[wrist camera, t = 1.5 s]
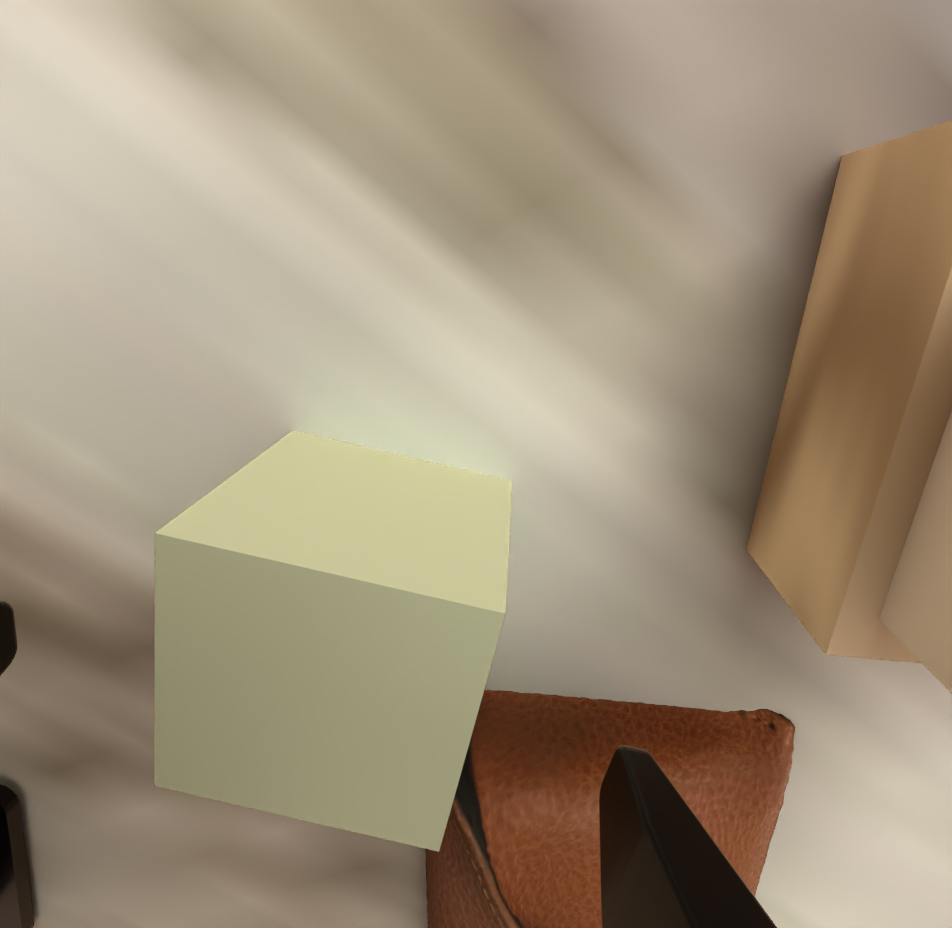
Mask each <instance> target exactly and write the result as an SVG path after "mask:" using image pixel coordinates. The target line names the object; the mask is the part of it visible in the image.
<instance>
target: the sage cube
mask: <svg viewBox="0 0 952 928" xmlns="http://www.w3.org/2000/svg"><path fill="white" fill-rule="evenodd" d="M511 499H512V481H511V480H506V479H502V478H498V477H493V476H489V475H485V474H480V473H476V472H472V471H467V470H463V469H459V468H454V467H450V466H446V465H441V464H437V463H433V462H428V461H424V460H420V459H415V458H411V457H406V456H402V455H398V454H393V453H389V452H385V451H380V450H376V449H372V448H367V447H363V446H359V445H354V444H350V443H346V442H341V441H337V440H333V439H328V438H324V437H320V436H315V435H311V434H307V433H302V432H298V431H293V430H292V431H291V432H290V433H288V434H287V435H286V436H284V437H283V438H282V439H280V440H279V441H278V442H276V443H275V444H274V445H272V446H271V447H270V448H268V449H267V450H266V451H264V452H263V453H262V454H260V455H259V456H258V457H256V458H255V459H253V460H252V461H251V462H249V463H248V464H247V465H245V466H244V467H243V468H241V469H240V470H239V471H237V472H236V473H235V474H233V475H232V476H231V477H229V478H228V479H227V480H225V481H224V482H223V483H221V484H220V485H219V486H217V487H216V488H215V489H213V490H212V491H211V492H209V493H208V494H207V495H205V496H204V497H202V498H201V499H200V500H198V501H197V502H196V503H194V504H193V505H192V506H190V507H189V508H188V509H186V510H185V511H184V512H182V513H181V514H180V515H178V516H177V517H176V518H174V519H173V520H172V521H170V522H169V523H168V524H166V525H165V526H164V527H162V528H161V529H160V530H158V531H157V532H156V533H155V672H154V786H156V787H160V788H165V789H169V790H173V791H178V792H182V793H186V794H191V795H195V796H199V797H204V798H208V799H212V800H217V801H221V802H225V803H230V804H234V805H238V806H243V807H247V808H251V809H256V810H260V811H264V812H269V813H273V814H277V815H282V816H286V817H290V818H295V819H299V820H303V821H308V822H312V823H316V824H321V825H325V826H329V827H334V828H338V829H342V830H347V831H351V832H355V833H360V834H364V835H368V836H373V837H377V838H381V839H386V840H390V841H394V842H399V843H403V844H408V845H412V846H416V847H421V848H425V849H429V850H434V851H438V852H439V850H440V846H441V843H442V839H443V836H444V832H445V829H446V825H447V821H448V818H449V814H450V811H451V807H452V804H453V800H454V796H455V793H456V789H457V786H458V782H459V779H460V775H461V771H462V768H463V764H464V761H465V757H466V753H467V750H468V746H469V743H470V739H471V736H472V732H473V728H474V725H475V721H476V718H477V714H478V711H479V707H480V703H481V700H482V696H483V693H484V689H485V686H486V682H487V678H488V675H489V671H490V668H491V664H492V661H493V657H494V653H495V650H496V646H497V643H498V639H499V635H500V632H501V628H502V625H503V621H504V618H505V614H506V596H507V577H508V557H509V538H510V519H511Z"/></svg>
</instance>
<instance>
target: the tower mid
mask: <svg viewBox="0 0 952 928" xmlns="http://www.w3.org/2000/svg"><path fill="white" fill-rule="evenodd" d="M879 620H880V621H881V622H882V623H883V624H884V625H885V626H886V627H887V628H888V629H889V630H890V631H891V632H892V633H893V634H894V635H895V636H896V637H897V638H898V639H899V640H900V641H901V642H902V643H903V644H904V645H905V646H906V647H907V648H908V649H909V650H910V651H911V652H912V653H913V654H914V656H915V657H916V658H917V659H918V660H919V661H920V662H921V663H922V664H923V665H924V666H925V667H926V668H927V669H928V670H929V671H930V672H931V673H932V674H933V675H934V676H935V677H936V678H937V679H938V680H939V681H940V682H941V683H942V684H943V685H944V686H945V687H946V688H947V689H948V690H949V691H950V692H951V693H952V410H951V413H950V416H949V419H948V422H947V425H946V428H945V431H944V433H943V436H942V439H941V442H940V445H939V448H938V451H937V453H936V456H935V459H934V462H933V465H932V468H931V471H930V473H929V476H928V479H927V482H926V485H925V488H924V491H923V493H922V496H921V499H920V502H919V505H918V508H917V511H916V513H915V516H914V519H913V522H912V525H911V528H910V531H909V533H908V536H907V539H906V542H905V545H904V548H903V551H902V553H901V556H900V559H899V562H898V565H897V568H896V571H895V573H894V576H893V579H892V582H891V585H890V588H889V591H888V593H887V596H886V599H885V602H884V605H883V608H882V611H881V614H880V616H879Z"/></svg>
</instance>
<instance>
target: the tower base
mask: <svg viewBox="0 0 952 928" xmlns="http://www.w3.org/2000/svg"><path fill="white" fill-rule="evenodd" d="M951 410H952V121H949V122H946V123H943V124H940V125H937V126H933V127H930V128H927V129H924V130H921V131H918V132H915V133H912V134H909V135H905V136H902V137H899V138H896V139H893V140H890V141H887V142H884V143H881V144H877V145H874V146H871V147H868V148H865V149H862V150H859V151H856V152H853V153H850V154H846V155H843V156H842V159H841V163H840V167H839V171H838V175H837V179H836V183H835V187H834V191H833V196H832V200H831V204H830V208H829V212H828V216H827V220H826V224H825V229H824V233H823V237H822V241H821V245H820V249H819V253H818V257H817V261H816V266H815V270H814V274H813V278H812V282H811V286H810V290H809V294H808V298H807V303H806V307H805V311H804V315H803V319H802V323H801V327H800V331H799V335H798V340H797V344H796V348H795V352H794V356H793V360H792V364H791V368H790V373H789V377H788V381H787V385H786V389H785V393H784V397H783V401H782V405H781V410H780V414H779V418H778V422H777V426H776V430H775V434H774V438H773V442H772V447H771V451H770V455H769V459H768V463H767V467H766V471H765V475H764V480H763V484H762V488H761V492H760V496H759V500H758V504H757V508H756V512H755V517H754V521H753V525H752V529H751V533H750V537H749V541H748V545H747V551H748V552H749V553H750V555H751V556H752V557H753V559H754V560H755V561H756V563H757V564H758V565H759V567H760V568H761V569H762V571H763V572H764V573H765V575H766V576H767V577H768V579H769V580H770V581H771V583H772V584H773V585H774V586H775V588H776V589H777V590H778V592H779V593H780V594H781V596H782V597H783V598H784V600H785V601H786V602H787V604H788V605H789V606H790V608H791V609H792V610H793V612H794V613H795V614H796V616H797V617H798V618H799V620H800V621H801V622H802V624H803V625H804V626H805V628H806V629H807V630H808V631H809V633H810V634H811V635H812V637H813V638H814V639H815V641H816V642H817V643H818V645H819V646H820V647H821V649H822V650H823V651H824V653H825V654H826V655H835V656H847V657H858V658H869V659H881V660H892V661H904V662H915V663H921V662H920V661H919V660H918V659H917V658H916V657H915V656H914V654H913V653H912V652H911V651H910V650H909V649H908V648H907V647H906V646H905V645H904V644H903V643H902V642H901V641H900V640H899V639H898V638H897V637H896V636H895V635H894V634H893V633H892V632H891V631H890V630H889V629H888V628H887V627H886V626H885V625H884V624H883V623H882V622H881V621H880V620H879V616H880V614H881V611H882V608H883V605H884V602H885V599H886V596H887V593H888V591H889V588H890V585H891V582H892V579H893V576H894V573H895V571H896V568H897V565H898V562H899V559H900V556H901V553H902V551H903V548H904V545H905V542H906V539H907V536H908V533H909V531H910V528H911V525H912V522H913V519H914V516H915V513H916V511H917V508H918V505H919V502H920V499H921V496H922V493H923V491H924V488H925V485H926V482H927V479H928V476H929V473H930V471H931V468H932V465H933V462H934V459H935V456H936V453H937V451H938V448H939V445H940V442H941V439H942V436H943V433H944V431H945V428H946V425H947V422H948V419H949V416H950V413H951Z"/></svg>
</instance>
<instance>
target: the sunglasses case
mask: <svg viewBox="0 0 952 928" xmlns="http://www.w3.org/2000/svg"><path fill="white" fill-rule="evenodd" d="M794 732H795V727H794V725H793V724H792V722H791V721H790V720H789V719H787V718H786V717H784V716H783V715H782V714H777V713H775V712H773V711H770V710H768V709H758V710H756V711H744V710H740V711H730V712H721V711H711V710H705V709H696V708H683V707H677V706H667V705H654V704H644V703H633V702H617V701H612V700H603V699H599V700H595V699H589V698H584V697H582V698H577V697H564V696H558V695H542V694H538V693H537V694H530V693H523V694H522V693H518V692H512V691H491V690H484V693H483V696H482V700H481V703H480V707H479V711H478V714H477V718H476V721H475V725H474V728H473V732H472V736H471V739H470V743H469V746H468V750H467V753H466V757H465V761H464V764H463V768H462V771H461V775H460V779H459V782H458V786H457V789H456V793H455V796H454V800H453V804H452V807H451V811H450V814H449V818H448V821H447V825H446V829H445V832H444V836H443V839H442V843H441V846H440V850H439V852H438V851H434V850H429V849H426V881H427V913H428V928H602V911H601V871H600V820H599V795H600V788H601V784H602V781H603V779H604V776H605V774H606V772H607V769H608V767H609V764H610V762H611V760H612V757H613V755H614V752H615V750H616V749H617V748H618V746H620V745H627V746H631V747H635V748H639V749H644V750H646V751H647V752H648V753H650V754H651V756H652V757H653V758H654V760H655V761H656V762H657V764H658V765H659V766H660V768H661V769H662V771H663V772H664V773H665V775H666V776H667V777H668V779H669V780H670V782H671V783H672V784H673V786H674V787H675V788H676V790H677V791H678V793H679V794H680V795H681V797H682V798H683V799H684V801H685V802H686V803H687V805H688V806H689V808H690V809H691V810H692V812H693V813H694V814H695V816H696V817H697V819H698V820H699V821H700V823H701V824H702V825H703V827H704V828H705V830H706V831H707V832H708V834H709V835H710V836H711V838H712V839H713V841H714V842H715V843H716V845H717V846H718V847H719V849H720V850H721V851H722V853H723V854H724V856H725V857H726V858H727V860H728V861H729V862H730V864H731V865H732V867H733V868H734V869H735V871H736V872H737V873H738V875H739V876H740V878H741V879H742V880H743V882H744V883H745V884H746V886H747V887H748V888H749V890H750V891H751V893H752V894H753V895H754V897H755V893H756V889H757V886H758V883H759V878H760V875H761V872H762V869H763V865H764V863H765V859H766V857H767V851H768V848H769V843H770V840H771V838H772V835H773V832H774V829H775V826H776V822H777V819H778V815H779V811H780V809H781V807H782V805H783V799H784V792H785V789H786V785H787V783H788V779H789V773H790V769H791V764H792V752H793V748H794V747H793V740H794Z"/></svg>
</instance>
